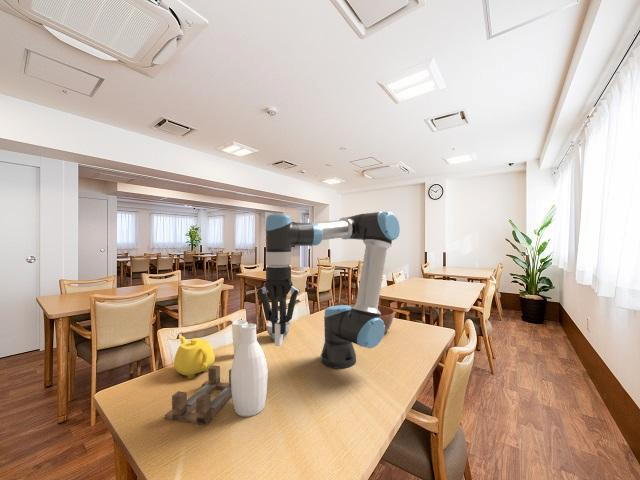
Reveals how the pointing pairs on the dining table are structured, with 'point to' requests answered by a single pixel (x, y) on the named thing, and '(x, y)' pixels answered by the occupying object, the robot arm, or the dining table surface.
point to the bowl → (386, 316)
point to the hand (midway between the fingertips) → (278, 344)
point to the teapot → (193, 357)
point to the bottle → (249, 374)
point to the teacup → (269, 330)
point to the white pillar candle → (237, 333)
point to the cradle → (201, 400)
